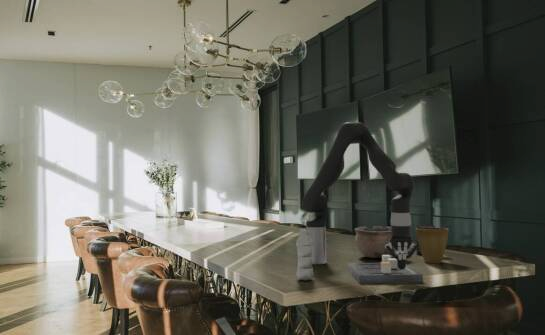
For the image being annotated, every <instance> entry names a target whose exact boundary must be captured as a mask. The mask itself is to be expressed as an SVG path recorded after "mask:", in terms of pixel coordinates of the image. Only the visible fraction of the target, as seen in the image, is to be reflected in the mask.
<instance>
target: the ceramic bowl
mask: <svg viewBox="0 0 545 335" xmlns="http://www.w3.org/2000/svg"><path fill="white" fill-rule="evenodd" d="M354 231H355V239H354V240H355V241H354V242H355V246H356V248H357V249H358V251H359V252H360V253H361V254H362V255H363V256H364V257H366V258H371V259H382V255H390V256H391V257H392V255H391V254H390V253H389V252H388V250H387V249H386V248H385V245H387V244H388V243H390V239H391V226H384V227H383V226H382V225H381V226H379V225H378V226H377V225H376V226H372V228H368V227H367V226H358V227H356V228H354ZM391 246H392V245H391ZM392 251H393V252H394V253H396V250H395V249H394V247H393V246H392Z"/></svg>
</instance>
